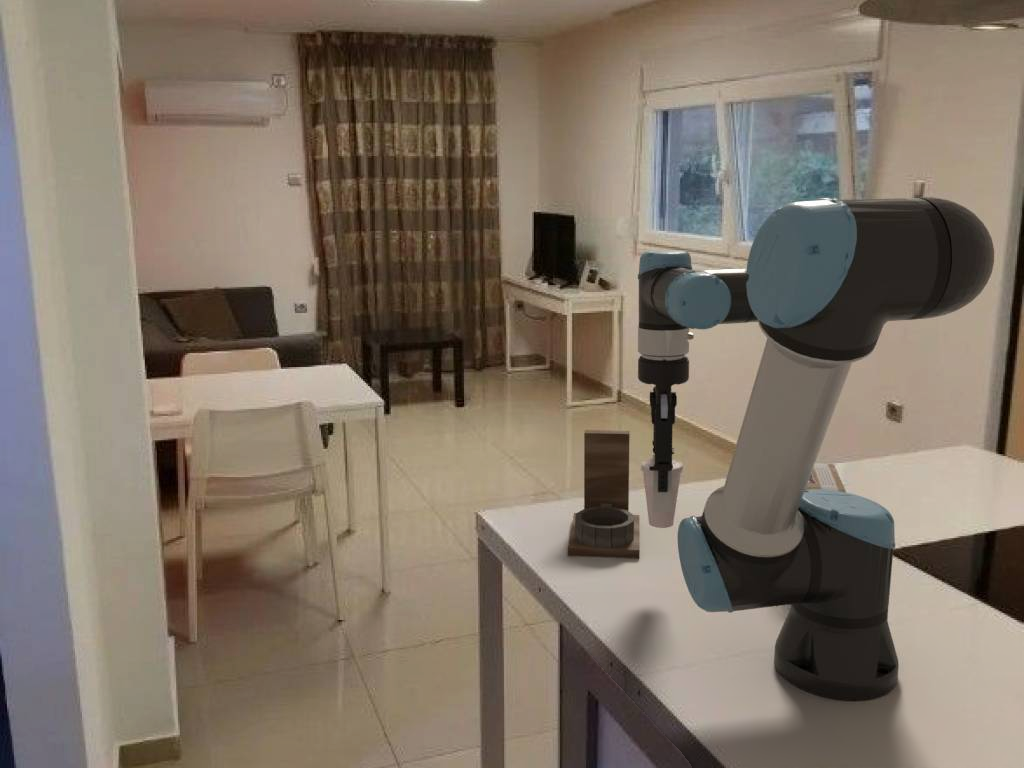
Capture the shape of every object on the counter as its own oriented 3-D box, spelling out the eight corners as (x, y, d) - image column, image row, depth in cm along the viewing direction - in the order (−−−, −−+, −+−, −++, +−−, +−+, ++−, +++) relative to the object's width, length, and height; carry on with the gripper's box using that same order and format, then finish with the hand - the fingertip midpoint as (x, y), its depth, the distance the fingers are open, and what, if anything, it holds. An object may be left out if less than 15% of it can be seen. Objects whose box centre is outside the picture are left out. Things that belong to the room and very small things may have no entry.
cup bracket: (639, 558, 155) (641, 458, 151) (567, 555, 156) (567, 456, 152) (639, 522, 170) (640, 431, 166) (574, 520, 172) (573, 429, 168)
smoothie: (634, 527, 142) (634, 439, 139) (648, 514, 147) (649, 429, 144) (674, 533, 139) (676, 443, 136) (687, 520, 144) (689, 433, 142)
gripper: (693, 367, 128) (689, 526, 133) (685, 344, 146) (683, 483, 151) (638, 367, 129) (636, 524, 134) (638, 344, 147) (636, 482, 152)
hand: (661, 502), depth 142 cm, fingers closed on smoothie, 6 cm apart
